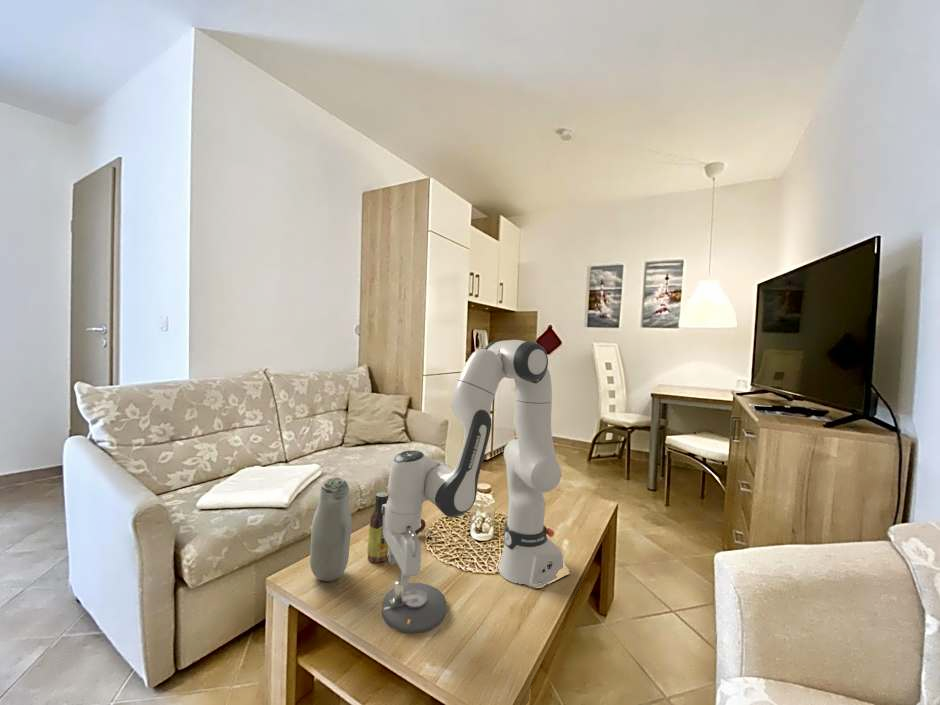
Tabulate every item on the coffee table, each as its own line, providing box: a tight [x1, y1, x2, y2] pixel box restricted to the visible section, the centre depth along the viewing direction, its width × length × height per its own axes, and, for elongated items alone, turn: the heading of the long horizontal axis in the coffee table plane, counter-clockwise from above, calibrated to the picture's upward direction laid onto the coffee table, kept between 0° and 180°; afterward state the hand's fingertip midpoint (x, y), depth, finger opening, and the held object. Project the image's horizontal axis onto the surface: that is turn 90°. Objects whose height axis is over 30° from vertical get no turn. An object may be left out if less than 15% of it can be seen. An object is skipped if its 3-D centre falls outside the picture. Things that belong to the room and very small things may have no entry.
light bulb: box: [389, 578, 427, 609], centre depth 101 cm, size 10×6×6 cm, turn 117°
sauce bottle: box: [366, 491, 389, 564], centre depth 123 cm, size 7×6×20 cm
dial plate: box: [381, 582, 447, 634], centre depth 102 cm, size 16×16×2 cm
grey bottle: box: [309, 477, 353, 582], centre depth 112 cm, size 10×10×28 cm
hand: (397, 572), depth 99 cm, fingers open, 8 cm apart
